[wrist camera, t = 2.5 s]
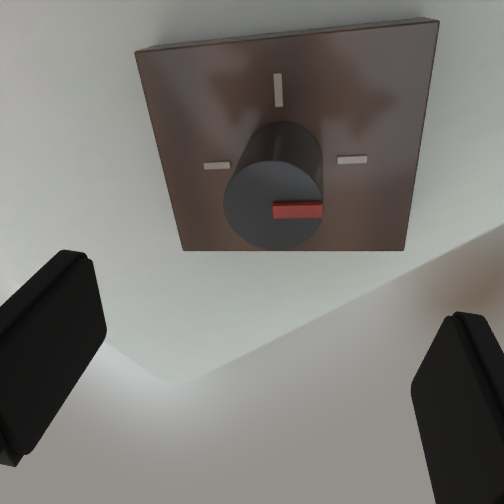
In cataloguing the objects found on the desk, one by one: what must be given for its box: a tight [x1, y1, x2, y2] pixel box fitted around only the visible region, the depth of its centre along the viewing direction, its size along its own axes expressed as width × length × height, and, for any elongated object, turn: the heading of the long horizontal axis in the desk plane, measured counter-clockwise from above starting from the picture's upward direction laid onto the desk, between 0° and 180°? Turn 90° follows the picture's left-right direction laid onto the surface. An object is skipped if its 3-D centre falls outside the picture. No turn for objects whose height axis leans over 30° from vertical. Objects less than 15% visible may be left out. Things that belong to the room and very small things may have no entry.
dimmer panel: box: [135, 17, 440, 251], centre depth 20 cm, size 13×11×3 cm
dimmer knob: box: [223, 122, 324, 250], centre depth 16 cm, size 4×4×5 cm
